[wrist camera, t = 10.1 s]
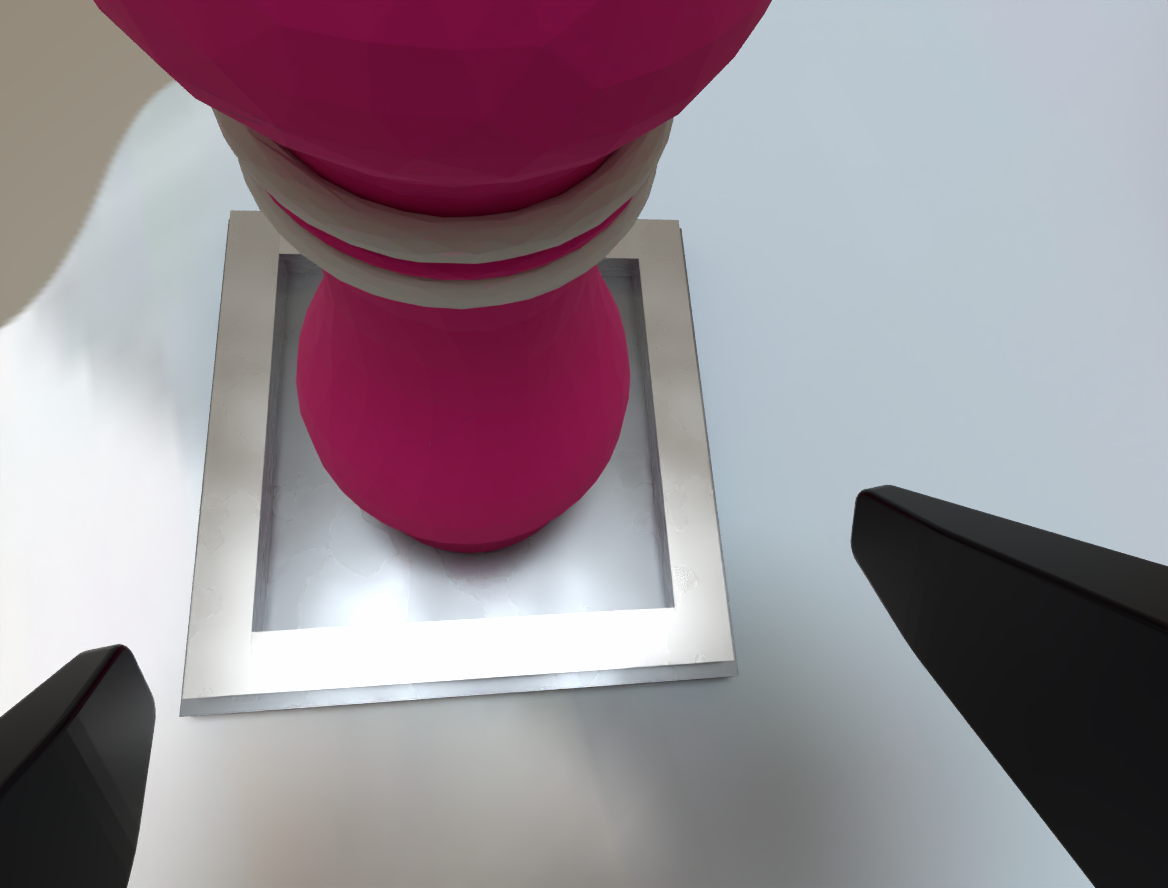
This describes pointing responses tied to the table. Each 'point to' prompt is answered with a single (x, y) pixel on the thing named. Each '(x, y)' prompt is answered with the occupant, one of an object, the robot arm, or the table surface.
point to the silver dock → (434, 576)
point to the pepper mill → (452, 223)
